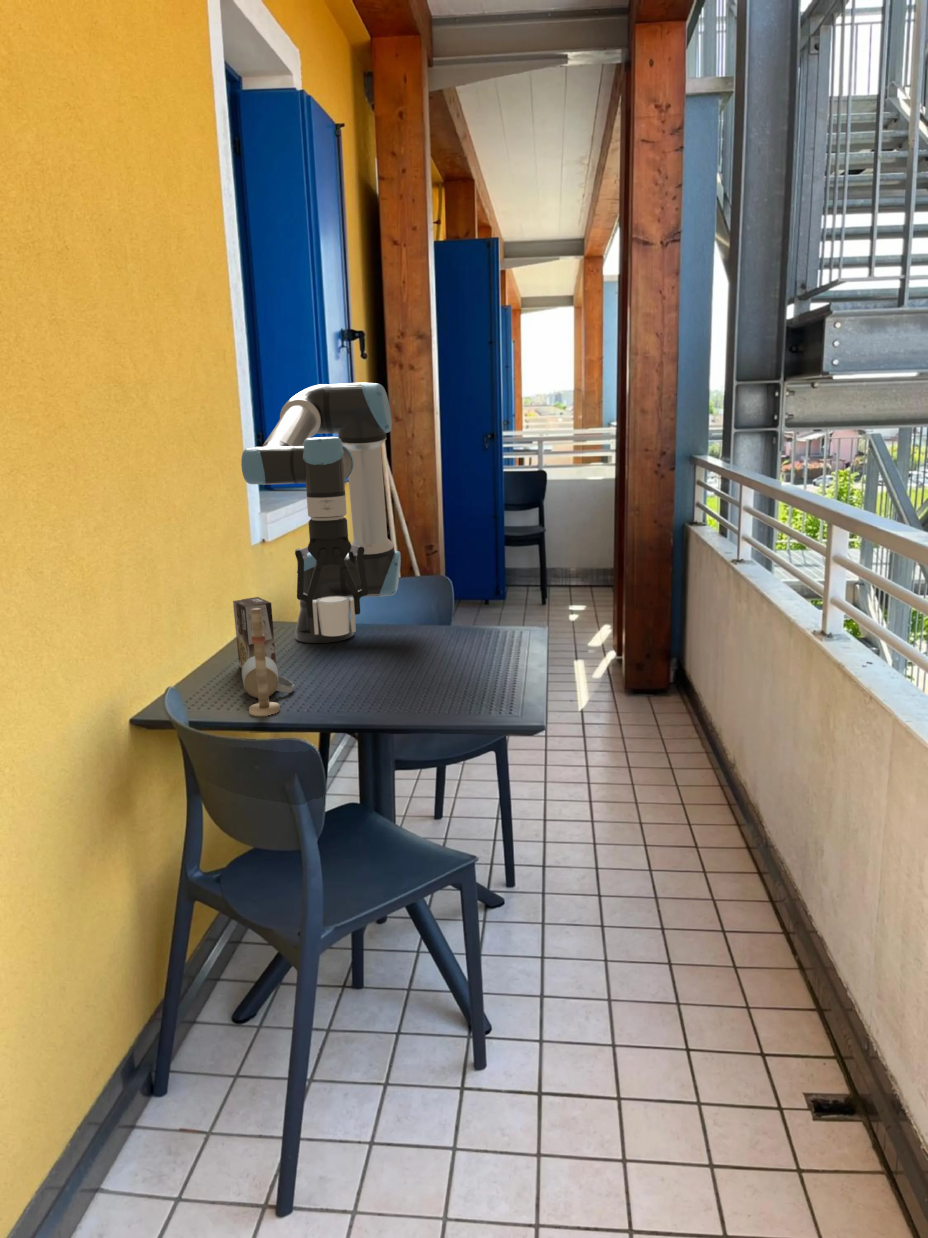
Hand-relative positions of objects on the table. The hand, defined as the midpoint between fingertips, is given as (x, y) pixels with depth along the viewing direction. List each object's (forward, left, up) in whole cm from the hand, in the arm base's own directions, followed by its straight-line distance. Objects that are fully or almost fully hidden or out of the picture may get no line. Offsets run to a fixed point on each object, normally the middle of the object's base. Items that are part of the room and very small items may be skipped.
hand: (335, 631), depth 184 cm
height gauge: (+2, -15, -15) cm, 21 cm away
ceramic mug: (-10, -15, -15) cm, 24 cm away
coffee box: (-30, -18, -15) cm, 38 cm away
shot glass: (0, 0, -1) cm, 1 cm away
